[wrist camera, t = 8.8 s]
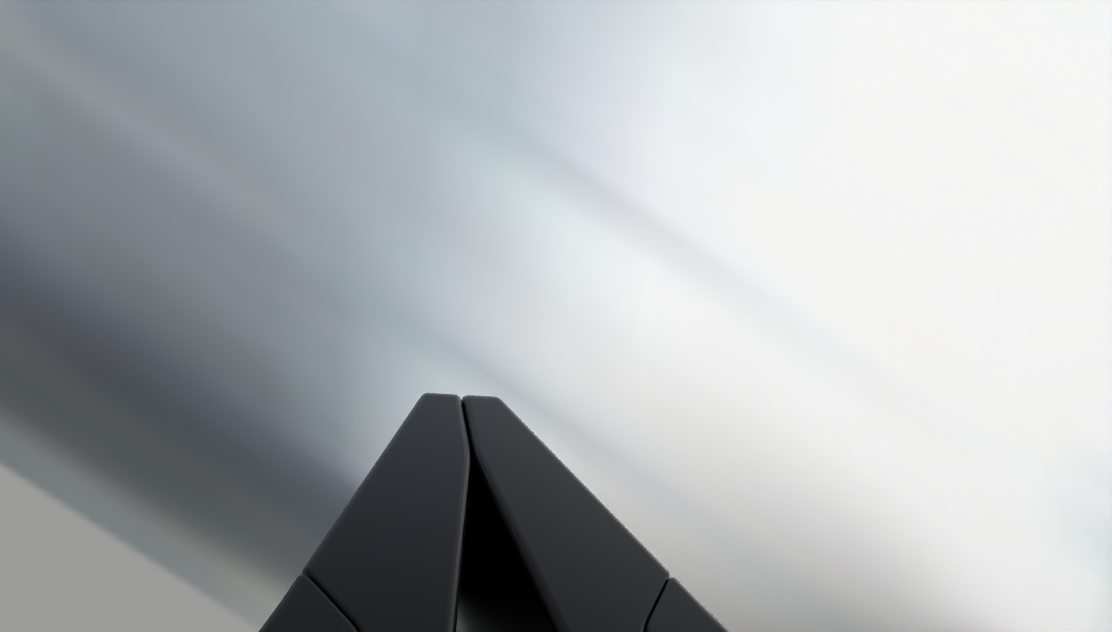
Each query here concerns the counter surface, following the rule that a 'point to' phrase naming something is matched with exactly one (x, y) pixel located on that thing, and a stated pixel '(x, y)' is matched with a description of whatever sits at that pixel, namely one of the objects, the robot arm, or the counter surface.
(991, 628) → the counter surface
